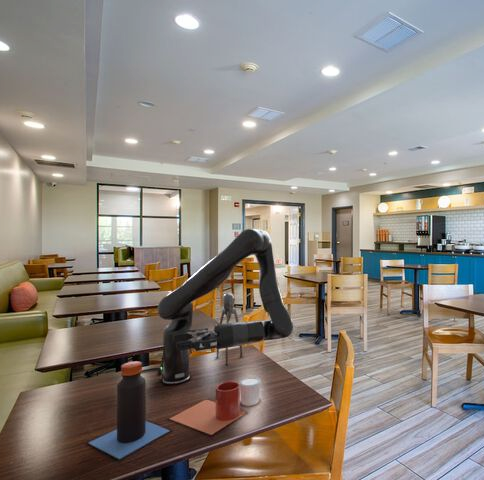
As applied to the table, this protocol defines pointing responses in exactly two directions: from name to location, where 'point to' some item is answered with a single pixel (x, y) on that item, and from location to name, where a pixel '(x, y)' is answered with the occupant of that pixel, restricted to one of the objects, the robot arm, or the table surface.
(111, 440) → the blue mat
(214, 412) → the terracotta mat
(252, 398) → the grey and white cylinder
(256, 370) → the table surface
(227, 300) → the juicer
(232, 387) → the red cup
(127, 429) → the bottle
